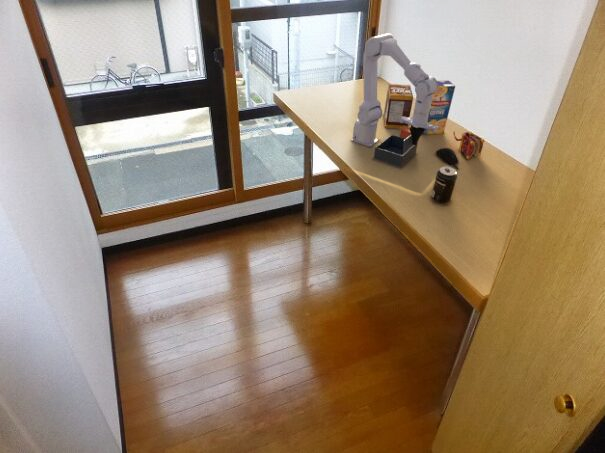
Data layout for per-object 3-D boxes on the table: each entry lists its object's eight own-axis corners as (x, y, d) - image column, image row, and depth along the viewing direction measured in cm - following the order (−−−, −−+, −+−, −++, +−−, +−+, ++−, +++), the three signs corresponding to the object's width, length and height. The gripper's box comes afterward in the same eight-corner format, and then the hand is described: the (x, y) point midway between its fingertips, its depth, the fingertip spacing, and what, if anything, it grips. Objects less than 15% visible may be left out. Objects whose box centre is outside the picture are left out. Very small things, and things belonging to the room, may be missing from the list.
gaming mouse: (450, 170, 170) (453, 161, 167) (432, 152, 181) (434, 144, 179) (464, 168, 171) (467, 159, 169) (446, 151, 182) (448, 142, 180)
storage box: (389, 145, 185) (391, 134, 181) (415, 154, 179) (417, 142, 176) (373, 159, 175) (375, 147, 172) (400, 168, 170) (402, 156, 166)
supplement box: (404, 115, 210) (410, 84, 201) (407, 129, 198) (413, 96, 189) (383, 114, 211) (388, 83, 201) (385, 127, 199) (390, 95, 189)
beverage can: (446, 194, 156) (454, 165, 148) (452, 205, 150) (461, 176, 143) (428, 194, 155) (435, 165, 148) (433, 205, 150) (441, 176, 143)
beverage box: (443, 133, 196) (455, 86, 182) (420, 134, 194) (431, 86, 181) (437, 127, 201) (449, 80, 188) (415, 127, 200) (425, 81, 186)
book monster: (482, 157, 178) (455, 161, 176) (471, 148, 185) (445, 151, 183) (487, 134, 172) (460, 137, 170) (476, 125, 179) (449, 128, 177)
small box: (398, 142, 188) (400, 129, 184) (402, 139, 190) (404, 126, 187) (408, 145, 185) (411, 132, 182) (412, 142, 188) (415, 129, 184)
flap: (419, 127, 172) (419, 127, 172) (417, 140, 176) (418, 141, 176) (403, 140, 163) (404, 140, 163) (402, 154, 166) (403, 154, 166)
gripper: (399, 109, 161) (393, 142, 170) (436, 119, 155) (428, 153, 163) (407, 103, 166) (401, 135, 174) (443, 113, 159) (435, 146, 168)
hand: (414, 143), depth 169 cm, fingers closed
